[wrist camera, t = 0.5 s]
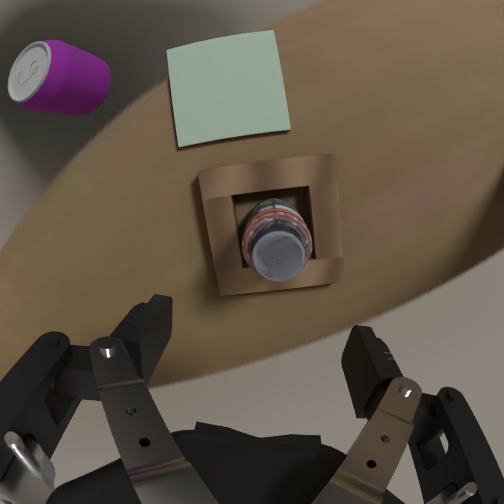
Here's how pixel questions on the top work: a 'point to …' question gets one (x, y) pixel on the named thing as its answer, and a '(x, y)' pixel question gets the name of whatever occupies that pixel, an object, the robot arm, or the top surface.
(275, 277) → the supplement bottle
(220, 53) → the pad
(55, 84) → the beverage can
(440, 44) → the top surface
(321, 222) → the socket block
